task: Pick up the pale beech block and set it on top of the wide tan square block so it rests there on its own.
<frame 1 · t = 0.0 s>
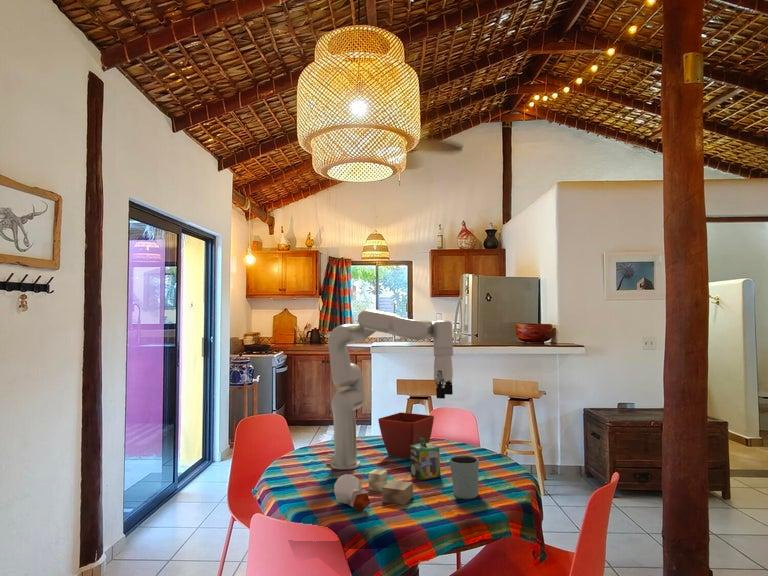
hand: (444, 396, 189), 31 cm above the table, fingers open, 9 cm apart
grey embossed cup: (465, 494, 170), on the table
tan square block: (398, 499, 167), on the table
beech block: (378, 488, 178), on the table
potion bottle: (352, 506, 162), on the table
plant pot: (407, 455, 221), on the table
chalk box: (425, 476, 191), on the table
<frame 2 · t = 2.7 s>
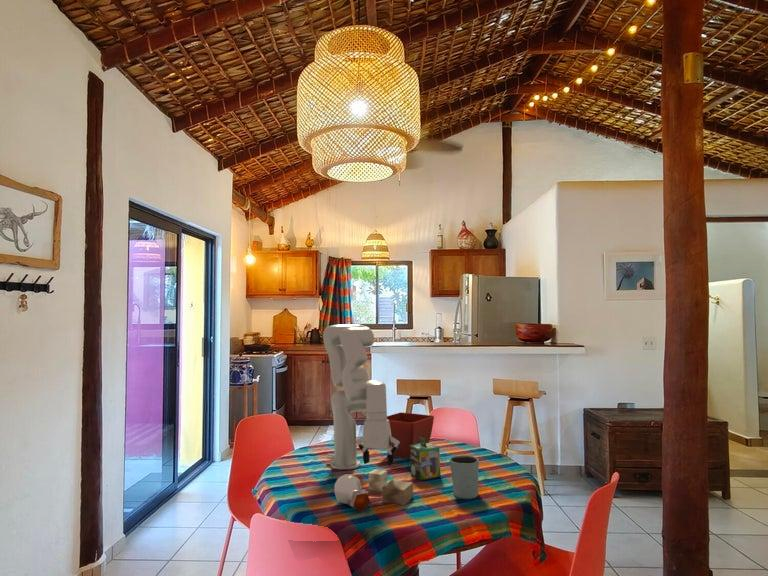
hand: (378, 464, 178), 9 cm above the table, fingers open, 9 cm apart
nothing on the table moved.
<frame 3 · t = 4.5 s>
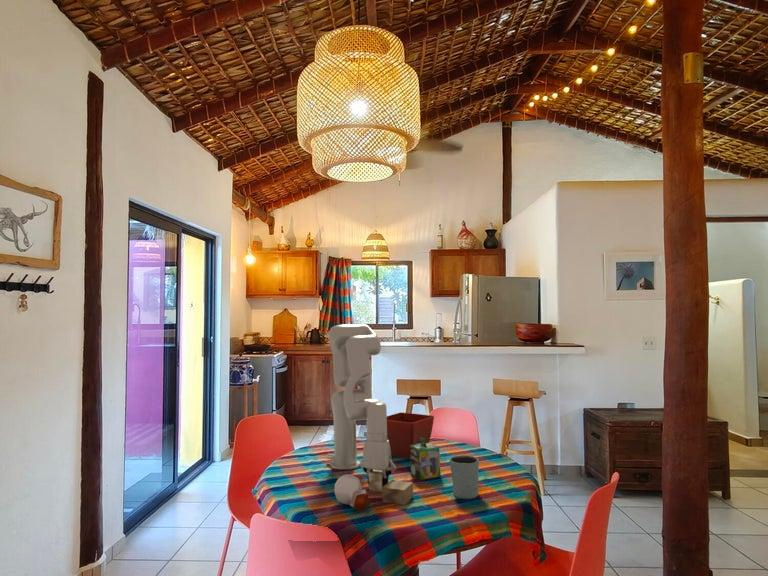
hand: (378, 486, 178), 1 cm above the table, fingers closed on beech block, 5 cm apart
beech block: (378, 488, 178), on the table, touching gripper
everything else where it was.
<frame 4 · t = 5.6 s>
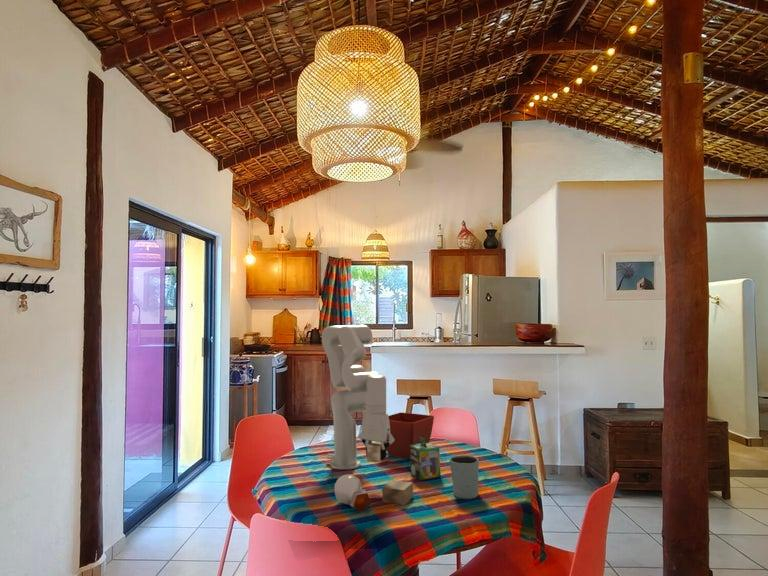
hand: (376, 457, 179), 11 cm above the table, fingers closed on beech block, 5 cm apart
beech block: (376, 459, 179), point 10 cm above the table, touching gripper
everything else where it was.
when the fingers open (6 cm above the table, at t = 10.9 s): beech block stays where it is, resting on tan square block.
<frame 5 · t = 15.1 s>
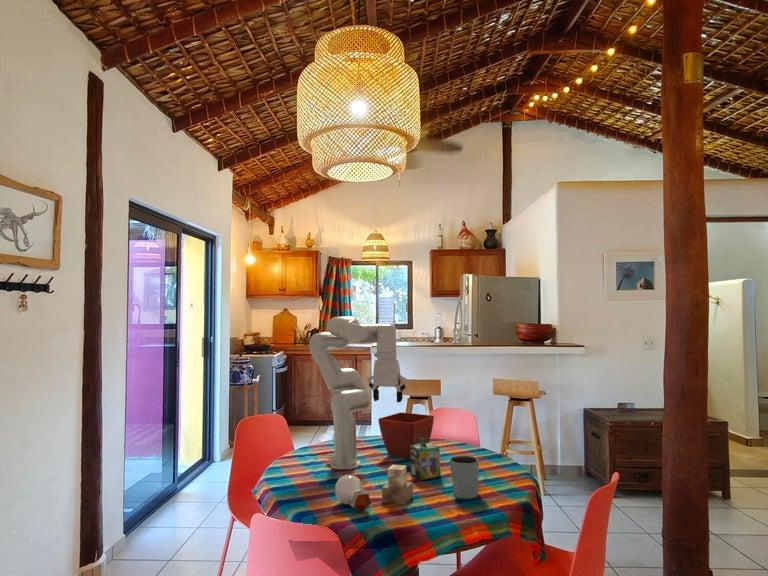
hand: (387, 401, 187), 30 cm above the table, fingers open, 9 cm apart
tan square block: (397, 499, 167), on the table, touching beech block
beech block: (397, 485, 167), point 5 cm above the table, touching tan square block
everything else where it was.
at the end: beech block 0.2 cm from the tan square block (horizontally); beech block point 4.7 cm above the table; the gripper is holding nothing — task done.
